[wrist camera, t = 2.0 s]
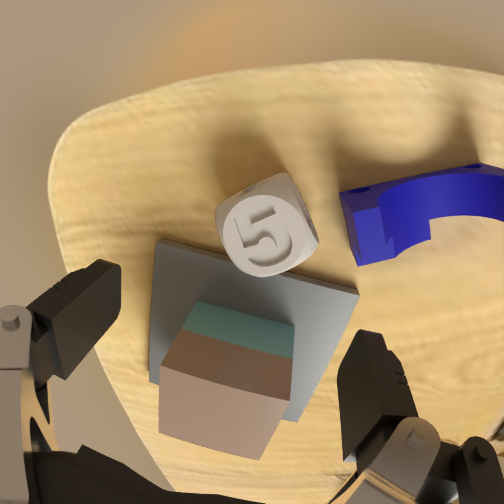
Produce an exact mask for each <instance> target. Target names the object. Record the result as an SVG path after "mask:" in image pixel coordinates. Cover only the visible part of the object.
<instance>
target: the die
mask: <svg viewBox="0 0 504 504" xmlns="http://www.w3.org/2000/svg"><path fill="white" fill-rule="evenodd" d="M215 221H216V227H217V230H218V234H219V237H220V239H221V242H222V244H223V246H224V248H225V250H226V252H227V254H228V255H229V257H230V259H231V260H232V261H233V263H234V264H235V265H236V266H237V267H238V268H239V269H240V270H241V271H243V272H245V273H247V274H250V275H253V276H256V277H268V276H273V275H276V274H279V273H282V272H284V271H287V270H289V269H291V268H293V267H295V266H297V265H298V264H300V263H301V262H303V261H304V260H306V259H307V258H308V257H309V256H310V255H311V254H312V253H313V252H314V251H315V250H316V248H317V246H318V243H319V239H318V236H317V232H316V229H315V227H314V224H313V221H312V219H311V216H310V214H309V212H308V209H307V207H306V205H305V203H304V201H303V198H302V196H301V194H300V192H299V190H298V188H297V187H296V185H295V183H294V181H293V179H292V178H291V176H290V175H289V174H287V173H285V172H282V173H278V174H276V175H273V176H270V177H268V178H266V179H263V180H261V181H259V182H257V183H255V184H253V185H251V186H249V187H247V188H245V189H243V190H241V191H239V192H237V193H236V194H234V195H232V196H230V197H229V198H227V199H226V200H224V201H222V202H221V203H220V204H219V205H218V206H217V208H216V212H215Z"/></svg>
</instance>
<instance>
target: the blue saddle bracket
mask: <svg viewBox="0 0 504 504" xmlns="http://www.w3.org/2000/svg"><path fill="white" fill-rule="evenodd" d="M339 194H340V199H341V203H342V207H343V212H344V216H345V221H346V226H347V230H348V235H349V240H350V245H351V251H352V253H353V256H354V258H355V261H356V263H357V265H358V266H362V265H367V264H371V263H375V262H379V261H383V260H387V259H391V258H395V257H396V256H397V255H399V254H400V253H401V252H402V251H404V250H406V249H407V248H409V247H411V246H413V245H415V244H418V243H420V242H423V241H426V240H430V239H431V235H430V225H429V219H434V218H439V217H446V216H459V215H470V216H482V217H488V218H493V219H497V220H500V221H503V222H504V169H502V168H498V167H494V166H490V165H487V164H483V163H477V164H472V165H466V166H461V167H456V168H451V169H446V170H441V171H436V172H431V173H426V174H421V175H416V176H411V177H406V178H402V179H397V180H392V181H388V182H383V183H379V184H374V185H370V186H365V187H361V188H357V189H352V190H348V191H344V192H339Z"/></svg>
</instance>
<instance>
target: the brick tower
mask: <svg viewBox="0 0 504 504" xmlns="http://www.w3.org/2000/svg"><path fill="white" fill-rule="evenodd" d="M359 296H360V295H359V292H358V290H357V289H354V288H350V287H346V286H342V285H338V284H334V283H330V282H326V281H322V280H318V279H315V278H311V277H307V276H303V275H299V274H295V273H291V272H287V271H284V272H282V273H279V274H276V275H273V276H268V277H256V276H253V275H250V274H247V273H245V272H243V271H241V270H240V269H239V268H238V267H237V266H236V265H235V264H234V263H233V261H232V260H231V259H230V257H229V256H227V255H223V254H219V253H215V252H211V251H208V250H204V249H200V248H196V247H193V246H189V245H185V244H182V243H178V242H174V241H170V240H167V239H163V238H161V239H159V240H158V241H157V242H156V248H155V259H154V271H153V284H152V300H151V319H150V352H149V382H152V383H154V384H157V385H159V433H162V434H165V435H168V436H171V437H174V438H177V439H180V440H183V441H186V442H189V443H192V444H196V445H199V446H202V447H206V448H210V449H213V450H217V451H221V452H225V453H228V454H233V455H237V456H241V457H246V458H250V459H255V460H259V459H260V457H261V456H262V454H263V452H264V450H265V448H266V446H267V445H268V443H269V441H270V439H271V437H272V435H273V433H274V432H275V430H276V428H277V426H278V424H279V422H280V420H281V419H283V420H288V421H294V422H298V420H299V418H300V416H301V415H302V413H303V411H304V409H305V407H306V406H307V404H308V402H309V400H310V398H311V397H312V395H313V393H314V391H315V389H316V387H317V385H318V383H319V382H320V380H321V378H322V376H323V374H324V372H325V370H326V368H327V366H328V364H329V362H330V360H331V358H332V356H333V354H334V352H335V350H336V348H337V345H338V343H339V341H340V339H341V337H342V335H343V333H344V331H345V328H346V326H347V324H348V322H349V320H350V317H351V315H352V313H353V310H354V308H355V306H356V304H357V301H358V299H359Z"/></svg>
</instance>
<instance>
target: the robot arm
mask: <svg viewBox="0 0 504 504" xmlns="http://www.w3.org/2000/svg"><path fill="white" fill-rule="evenodd" d="M120 308H121V267H120V266H119V265H118V264H115V263H112V262H109V261H106V260H102V259H98V260H96V261H95V262H93V263H92V264H91V265H89V266H88V267H87V268H82V269H80V270H77V271H74V272H71V273H69V274H68V275H67V276H66V277H64V278H63V279H61V281H60V282H57V283H56V284H55V285H53V288H50V289H48V290H47V291H46V292H44V293H43V294H42V295H41V296H39V297H38V298H37V299H36V300H34V301H33V302H32V303H31V304H29V305H28V306H27V307H22V306H19V305H9V306H4V307H2V308H0V504H265V503H259V502H253V501H247V500H242V499H237V498H232V497H227V496H223V495H219V494H197V493H182V492H171V491H166V490H164V489H162V488H160V487H158V486H156V485H155V484H153V483H152V482H150V481H148V480H147V479H145V478H144V477H142V476H141V475H139V474H137V473H136V472H135V471H133V470H132V469H130V468H129V467H127V466H126V465H124V464H123V463H121V462H119V461H116V460H114V459H112V458H110V457H107V456H105V455H103V454H101V453H99V452H97V451H95V450H92V449H91V448H89V447H87V446H84V445H83V444H82V446H81V447H80V449H79V451H78V453H72V452H66V451H60V448H59V445H58V442H57V439H56V436H55V431H54V423H53V414H52V404H51V392H50V391H51V390H50V382H49V379H50V377H51V376H52V375H53V374H54V375H56V376H58V377H60V378H62V379H64V380H66V379H67V378H68V377H69V375H70V374H71V373H72V372H73V370H74V369H75V368H76V367H77V365H78V364H79V363H80V362H81V361H82V360H83V358H84V357H85V356H86V355H87V353H88V352H89V351H90V350H91V349H92V347H93V346H94V345H95V344H96V343H97V342H98V340H99V339H100V338H101V337H102V336H103V334H104V333H105V332H106V331H107V330H108V329H109V327H110V326H111V325H112V324H113V323H114V322H115V320H116V319H117V317H118V315H119V312H120ZM404 374H405V373H404V370H403V367H402V365H401V362H400V361H399V359H398V358H397V357H396V356H395V354H394V353H393V352H392V351H389V350H387V347H386V344H385V341H384V338H383V336H382V334H380V333H376V332H371V331H366V330H361V329H360V330H358V332H357V333H356V335H355V336H354V339H353V341H352V343H351V345H350V347H349V349H348V351H347V353H346V355H345V356H344V358H343V360H342V362H341V364H340V367H339V370H338V374H337V388H338V398H339V409H340V421H341V434H342V450H343V462H356V464H357V469H356V470H355V471H354V472H353V473H352V475H351V476H350V477H349V478H348V479H347V480H346V482H345V483H344V484H343V485H342V486H341V487H340V489H339V490H338V491H337V492H336V493H335V494H334V495H333V496H332V497H331V499H330V500H329V501H328V502H327V503H326V504H451V503H452V502H453V501H454V500H456V499H457V498H459V503H460V504H504V478H503V474H502V472H501V468H500V464H499V461H498V458H497V455H496V452H495V450H494V448H493V447H492V445H491V444H490V443H489V442H488V441H487V440H485V439H484V438H481V437H477V436H474V437H470V438H468V439H467V440H466V441H465V442H464V443H463V444H462V445H461V446H456V445H453V444H449V443H446V442H443V441H440V436H439V434H438V432H437V430H436V429H435V427H434V426H433V425H432V424H431V423H429V422H428V421H426V420H424V419H422V418H419V416H418V413H417V410H416V407H415V403H414V400H413V397H412V394H411V391H410V388H409V385H407V384H408V382H407V379H406V376H404Z"/></svg>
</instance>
